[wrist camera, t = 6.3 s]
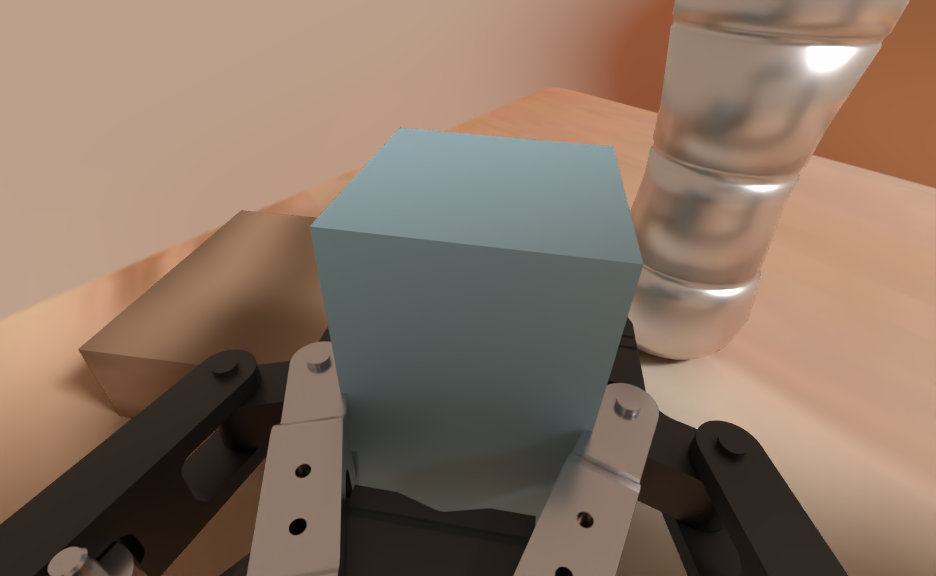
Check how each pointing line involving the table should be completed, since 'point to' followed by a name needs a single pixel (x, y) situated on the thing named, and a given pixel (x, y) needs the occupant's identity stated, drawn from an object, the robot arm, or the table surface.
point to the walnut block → (215, 310)
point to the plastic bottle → (736, 152)
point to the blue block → (475, 311)
